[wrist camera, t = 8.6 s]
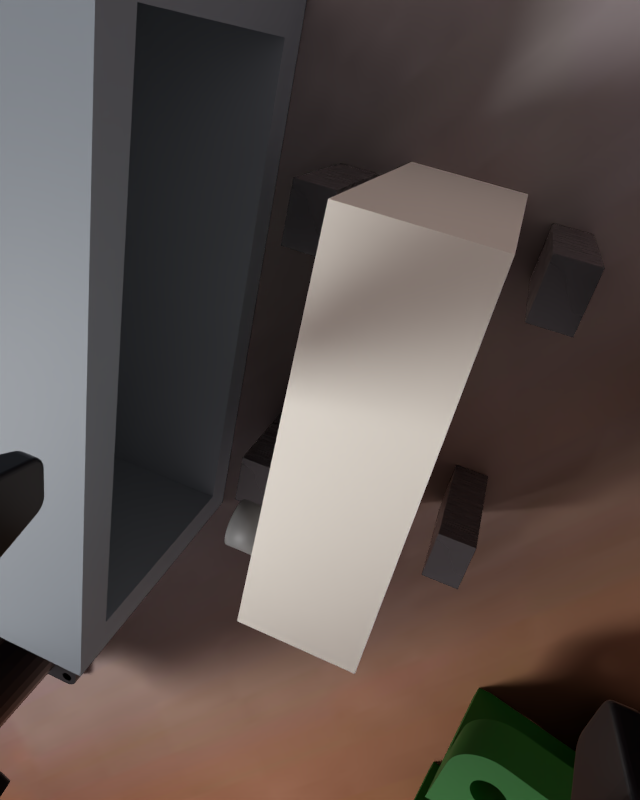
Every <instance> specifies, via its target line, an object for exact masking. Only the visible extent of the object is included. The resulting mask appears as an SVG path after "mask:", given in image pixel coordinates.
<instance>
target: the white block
mask: <svg viewBox="0 0 640 800" xmlns="http://www.w3.org/2000/svg"><path fill="white" fill-rule="evenodd" d="M527 198H528V194H526V193H522V192H519V191H515V190H511V189H508V188H504V187H501V186H497V185H494V184H490V183H486V182H483V181H479V180H476V179H472V178H468V177H465V176H461V175H458V174H454V173H450V172H447V171H443V170H440V169H436V168H433V167H429V166H425V165H422V164H418V163H415V162H410V163H408V164H406V165H404V166H401V167H399V168H397V169H394V170H392V171H390V172H388V173H385V174H383V175H381V176H379V177H376V178H374V179H372V180H369V181H367V182H365V183H363V184H360V185H358V186H356V187H354V188H351V189H349V190H347V191H344V192H342V193H340V194H338V195H335V196H333V197H331V198H328V202H327V206H326V211H325V216H324V220H323V225H322V229H321V234H320V239H319V243H318V248H317V253H316V257H315V262H314V267H313V271H312V276H311V281H310V285H309V290H308V294H307V299H306V304H305V308H304V313H303V318H302V322H301V327H300V332H299V336H298V341H297V345H296V350H295V355H294V359H293V364H292V369H291V373H290V378H289V383H288V387H287V392H286V397H285V401H284V406H283V410H282V415H281V420H280V424H279V429H278V434H277V438H276V443H275V448H274V452H273V457H272V462H271V466H270V471H269V475H268V480H267V485H266V489H265V494H264V499H263V503H262V506H261V505H258V504H256V503H253V502H251V501H249V500H246V499H243V500H242V501H241V502H240V503H239V505H238V506H237V508H236V509H235V511H234V513H233V515H232V517H231V519H230V522H229V524H228V527H227V530H226V534H225V544H226V545H228V546H231V547H233V548H235V549H238V550H240V551H242V552H245V553H247V554H250V555H251V559H250V564H249V568H248V573H247V578H246V582H245V587H244V591H243V596H242V601H241V605H240V610H239V615H238V619H237V621H238V622H240V623H242V624H245V625H247V626H249V627H251V628H254V629H256V630H258V631H260V632H262V633H265V634H267V635H269V636H271V637H274V638H276V639H278V640H280V641H283V642H285V643H287V644H289V645H292V646H294V647H296V648H298V649H300V650H303V651H305V652H307V653H309V654H312V655H314V656H316V657H318V658H321V659H323V660H325V661H327V662H329V663H332V664H334V665H336V666H338V667H341V668H343V669H345V670H347V671H350V672H352V673H354V674H355V672H356V669H357V666H358V664H359V661H360V659H361V656H362V653H363V651H364V648H365V646H366V643H367V640H368V638H369V635H370V632H371V630H372V627H373V625H374V622H375V619H376V617H377V614H378V612H379V609H380V606H381V604H382V601H383V598H384V596H385V593H386V591H387V588H388V585H389V583H390V580H391V578H392V575H393V572H394V570H395V567H396V564H397V562H398V559H399V557H400V554H401V551H402V549H403V546H404V544H405V541H406V538H407V536H408V533H409V530H410V528H411V525H412V523H413V520H414V517H415V515H416V512H417V510H418V507H419V504H420V502H421V499H422V496H423V494H424V491H425V489H426V486H427V483H428V481H429V478H430V476H431V473H432V470H433V468H434V465H435V462H436V460H437V457H438V455H439V452H440V449H441V447H442V444H443V442H444V439H445V436H446V434H447V431H448V428H449V426H450V423H451V421H452V418H453V415H454V413H455V410H456V408H457V405H458V402H459V400H460V397H461V394H462V392H463V389H464V387H465V384H466V381H467V379H468V376H469V373H470V371H471V368H472V366H473V363H474V360H475V358H476V355H477V353H478V350H479V347H480V345H481V342H482V339H483V337H484V334H485V332H486V329H487V326H488V324H489V321H490V319H491V316H492V313H493V311H494V308H495V305H496V303H497V300H498V298H499V295H500V292H501V290H502V287H503V285H504V282H505V279H506V277H507V274H508V271H509V269H510V266H511V264H512V261H513V258H514V256H515V252H516V248H517V243H518V239H519V234H520V230H521V225H522V221H523V216H524V212H525V207H526V203H527Z"/></svg>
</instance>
